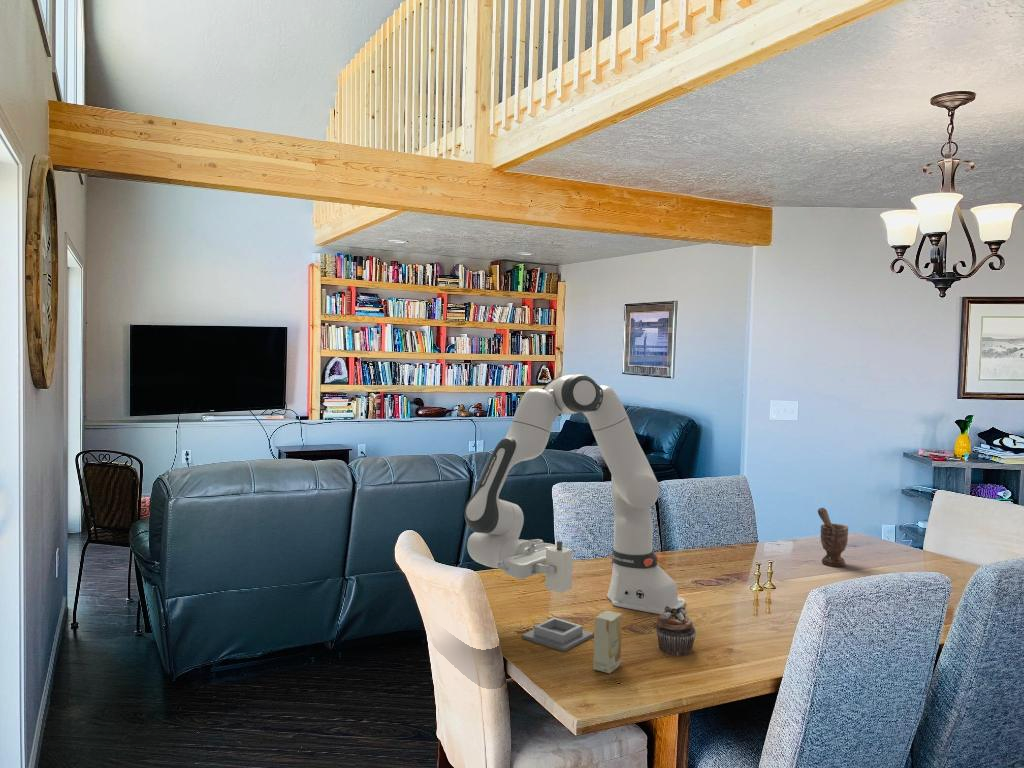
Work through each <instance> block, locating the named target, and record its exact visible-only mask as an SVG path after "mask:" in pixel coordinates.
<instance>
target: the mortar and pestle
mask: <svg viewBox="0 0 1024 768" xmlns="http://www.w3.org/2000/svg"><path fill="white" fill-rule="evenodd" d="M817 515H818V516H819V517H820V519H821V522H822V524H821V525H820V543H821V546H822V548H823V550H825V552H826V555H824V557H823V558H822V559H821V563H822V564H823V565H826V566H828V567H834V568H836V567H837V568H838V567H839V568H841V567H845V566H846V561H845V558H843V557H842V554H843V552H845V550H846V547H847V545H848V540H849V526H847V525H845V524H841V523H832V522H831V519H830V515H829V512H828V510H827V509H826V508H825V507H820V508H819V509H817Z"/></svg>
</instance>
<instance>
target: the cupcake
mask: <svg viewBox="0 0 1024 768" xmlns="http://www.w3.org/2000/svg"><path fill="white" fill-rule="evenodd" d="M686 615H687V610H686V608H685V607H683V608H682V607H680V608H678V609H675V608H672V609H671V608H669V607H668V606H666V607H665V609H664V614H659V616H657V618H656V619H657V620H656V624H655V630H656V636H657V642H658V647H659V651H661V652H663V653H664V654H665V653H666V654H668V655H672V656H687V655H690V654H691V653H692V652H693V648H694V643H695V640H696V635H697V630H696V628H695V627H694V625H693V624H694V623H693V621H692V620H691V618H690V617H688V616H686Z"/></svg>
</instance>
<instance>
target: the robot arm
mask: <svg viewBox="0 0 1024 768" xmlns="http://www.w3.org/2000/svg"><path fill="white" fill-rule="evenodd" d="M575 414H583V415H584V416H585V417H586V419H587V421H588V424H589V425H590V429H591V431H592V435H593V436H594V438H595V441H596V444H597V446H598V449H599V451H600V454H601V456H602V458H603V460H604V462H605V464H606V466H607V468H608V470H609V472H610V473H611V474H610V475H611V493H612V494H611V495H612V496H611V497H612V510H613V522H614V524H613V532H614V533H613V548H612V550H611V551H612V552H611V553H612V554H611V565H612V572H611V573H612V574H611V578H610V584H609V588H608V592H607V594H606V597H607V599H609V600H610V602H611V604H612V606H615V607H620V608H625V609H630V610H636V611H641V612H644V613H645V612H646V613H652V614H657V615H661V614H664V609H665V607H666V606H668V607H669V608H671V609H672V608H675V609H678V608H680V607H682V608H685V606H686V600H685V598H682V597H680V596H678V595H679V594H678V588H677V584H676V581H674V579H673V578H672V577H670V575H669V574H668V573H667V572H666V571H664V570H663V568H661V567H660V566H659V565H658V560H660V559H661V554H659V555H656V554H655V553H654V552H655V551H654V550H653V529H654V523H653V519H652V512H651V506H653V505H654V504H656V502H657V500H658V499H659V496H660V484H659V481H658V480H657V477H656V475H655V473H654V470H653V469H652V467H651V465H650V462H649V460H648V458H647V456H646V454H645V452H644V450H643V448H642V447H641V445H640V443H639V440H638V438H637V436H636V434H635V433H636V432H635V430H634V428H633V426H632V424H631V420H630V418H629V415H628V414H627V412H626V409H625V407H624V405H623V403H622V402H621V399H620V397H619V396H618V394H617V393H616V391H615V390H614V388H612V387H610V386H608V385H598V384H597V382H596V381H595V380H594V379H593V378H592V377H590V376H588V375H586V374H583V373H582V374H581V373H576V374H575V373H574V374H565V375H563V376H560V377H556V378H554V379H552V380H550V381H548V382H547V384H546V385H544V387H542V388H530V389H528V390H526V391H525V392H524V394H523V395H522V398H521V399H520V401H519V403H518V405H517V408H516V409H515V412H514V414H513V415H514V416H513V418H512V421H511V424H510V427H509V429H508V430H507V433H506V435H505V436H504V438H503V439H500V441H499V442H498V443H497V444H496V446H495V448H494V450H493V452H492V453H491V456H490V458H489V460H488V462H487V465H486V467H485V469H484V471H483V474H482V475H481V479H480V480H479V483H478V484H477V487H476V489H475V490H474V492H473V494H472V495H471V497H470V498H469V500H468V501H467V503H466V505H465V508H464V519H465V523H466V525H467V527H468V528H469V529H470V530H471V531H472V533H471V534H470V536H469V537H468V540H467V543H466V547H467V552H468V554H469V556H470V558H471V559H472V560H473V561H475V562H476V563H478V564H481V565H483V566H485V567H488V568H493V569H499V570H502V571H503V572H504V574H505V575H508V576H510V577H512V578H516V579H527V578H530V577H532V576H536V575H537V574H546V573H549V574H554V573H556V572H557V570H556V569H557V567H556V566H553V565H546V549H549V548H552V547H555V546H557V544H553V543H550V542H548V543H547V542H544V540H543V539H539V538H535V539H523V538H522V539H520V536H521V533H522V530H523V527H524V524H525V514H524V511H523V509H522V508H521V507H520V506H519V505H518V504H517V503H513V502H510V501H507V500H504V499H501V498H499V496H500V493H501V490H502V488H503V486H504V484H505V481H506V480H507V479H506V478H507V476H508V475H509V472H510V470H511V469H512V468H513V466H515V465H516V464H518V463H520V462H524V461H525V462H526V461H529V460H533V459H536V458H537V457H539V456H540V455H542V454H543V452H544V450H545V449H546V446H547V444H548V442H549V438H550V435H551V433H552V428H553V423H554V422H555V420H556V418H557V417H558V416H559V415H575Z"/></svg>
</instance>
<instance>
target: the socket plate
mask: <svg viewBox="0 0 1024 768" xmlns="http://www.w3.org/2000/svg"><path fill="white" fill-rule="evenodd" d="M590 638H591V639H592V638H594V632H592V631H588V630H585V629H583V625H582V624H577V623H574V622H571V621H567V620H565V619H561V618H558V617H551V618H550V619H547V620H545V621H543V622H540V623H539V624H537V625H534V626H533V629H531V630H529V631H526V632H525V633H523V634H521V639H524V640H528V641H530V642H531V641H532V642H533V643H537V644H540V645H543V646H545V647H547V648H548V647H549V648H551V649H555V650H558V651H561V652H567V651H568V650H570V649H571V648H574V647H576V646H579V644H582V643H583V642H585V641H586V640H589V639H590Z"/></svg>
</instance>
